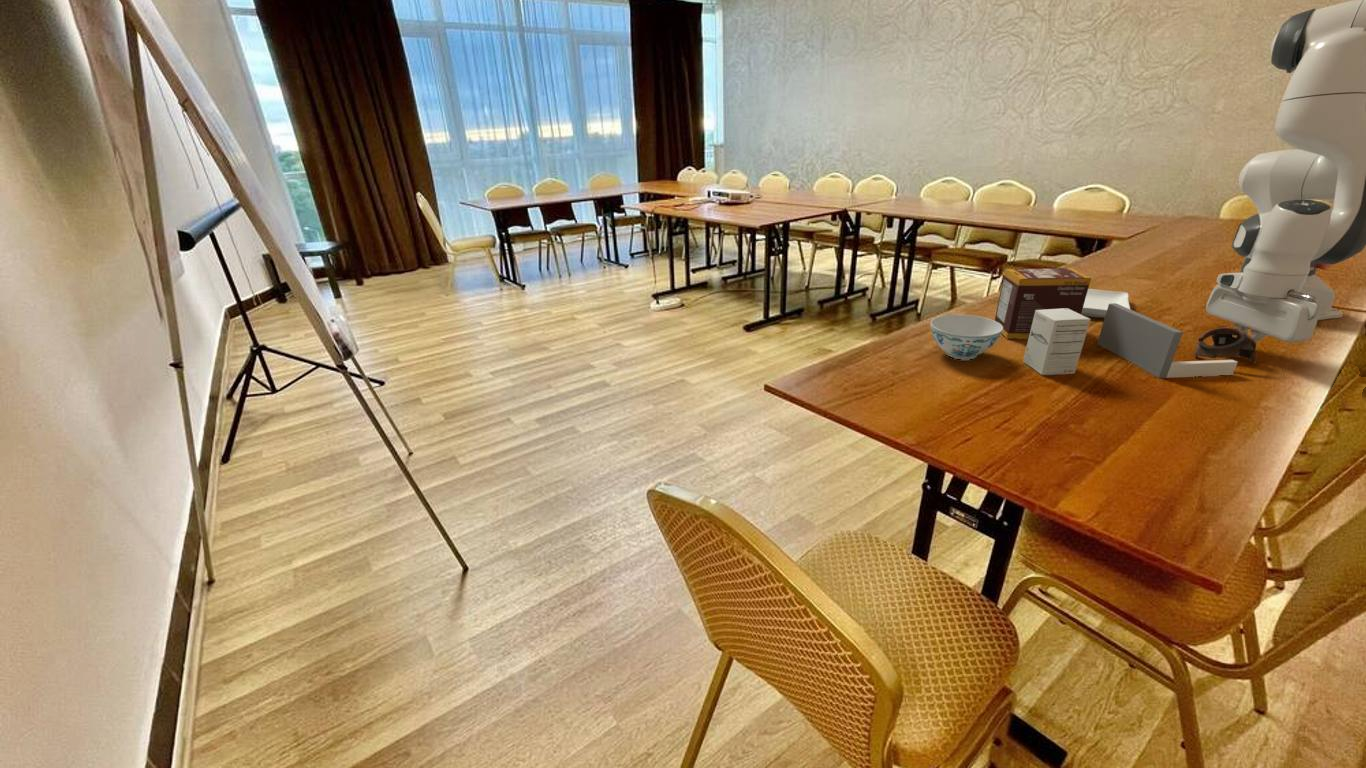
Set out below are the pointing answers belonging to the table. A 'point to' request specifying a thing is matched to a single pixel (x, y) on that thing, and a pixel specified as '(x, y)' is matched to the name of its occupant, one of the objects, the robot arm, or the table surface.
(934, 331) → the chinaware
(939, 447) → the table surface
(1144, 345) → the display stand
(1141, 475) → the table surface
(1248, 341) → the pottery mug
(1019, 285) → the supplement box
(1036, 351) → the supplement box
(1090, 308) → the salad plate
